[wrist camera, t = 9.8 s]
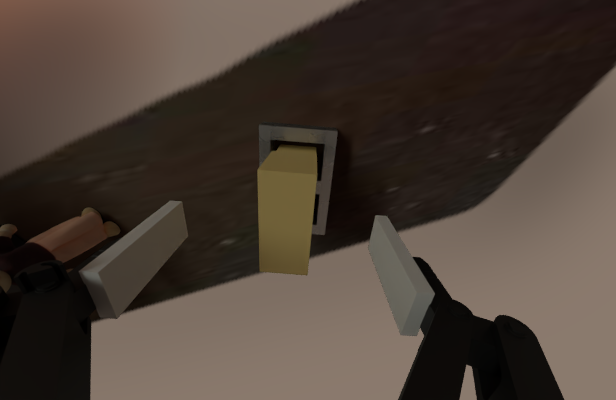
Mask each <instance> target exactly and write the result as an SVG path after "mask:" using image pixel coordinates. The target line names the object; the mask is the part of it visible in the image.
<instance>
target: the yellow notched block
mask: <svg viewBox="0 0 616 400" xmlns="http://www.w3.org/2000/svg"><path fill="white" fill-rule="evenodd" d="M316 182H317V154H316V147H308V146H296V145H283V144H281V145H280V146H279V147H278V149H277V150H276V151H272V152H271V153H270V154H269V155H268V157H267V158H266V159H265V161H264V162H263V163H262V165H261V166H260V167H259V169H258V213H259V259H260V272H272V273H284V274H296V275H307V274H308V263H309V254H310V244H311V233H312V223H313V213H314V202H315V192H316Z"/></svg>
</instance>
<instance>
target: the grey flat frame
mask: <svg viewBox="0 0 616 400" xmlns="http://www.w3.org/2000/svg"><path fill="white" fill-rule="evenodd" d="M337 134H338V131H337V129H336V128H331V127H319V126H307V125H295V124H283V123H271V122H263V123H261V124H260V125H259V154H260V166H261V165H262V163H263V162H264V161H265V159H266V158H267V157H268V155H269V154H270V153H271V152H272V151H274V140H282V141H294V142H306V143H319V144H324V148H323V157H322V167H321V174H317V182H316V192H315V194H319V196H318V205H317V215H313V223H312V233H311V234H318V235H325V228H326V221H327V213H328V205H329V197H330V189H331V181H332V174H333V166H334V158H335V150H336V142H337Z"/></svg>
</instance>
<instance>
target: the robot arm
mask: <svg viewBox="0 0 616 400" xmlns="http://www.w3.org/2000/svg"><path fill="white" fill-rule="evenodd" d="M187 237H188V232H187V227H186V221H185V216H184V210H183V205H182V202H181V201H169V202H168V203H167V204H165V205H164V206H163V207H162V208H160V209H159V210H158V211H156V212H155V213H154V214H152V215H151V216H150V217H149V218H147V219H146V220H145V221H143V222H142V223H141V224H139V225H138V226H137V227H136V228H134V229H133V230H132V231H130V232H129V233H128V234H126V235H125V236H124V237H123V238H118V239H116V240H114V241H112V242H110V243H108V244H106V245H105V246H104V247H102V248H101V249H99V251H97V252H95V253H94V254H93V255H92V256H91V257H89V258H87V259H86V260H85V261H83V262H82V263H81V264H79V265H78V266H77V267H75V268H74V269H73V270H71V271H70V272H68V273H67V271H66V269H65V267H64V265H63V263H62V261H59V260H48V261H43V262H39V263H36V264H33V265H31V266H29V267H27V268H25V269H23V270H21V271H20V272H19V273H17V274H16V275H15V276H14V278H13V279H14V281H15V282H16V284H17V285H18V286H16V285H12V284H11V286H10V288H9V290H8V291H7V292H6V293H5V291H4V290H3V288H2V287H1V286H0V400H90V377H91V374H90V373H91V319H90V317H89V315H90V314H91V313H92V312H93V311H94V310H95V309H96V310H97V312H98V314H99V316H100V318H115V319H117V318H118V317H119V316H120V315H121V314H122V313H123V311H124V310H125V309H126V308H127V307H128V306H129V304H130V303H131V302H132V301H133V300H134V299H135V297H136V296H137V295H138V294H139V293H140V291H141V290H142V289H143V288H144V287H145V286H146V284H147V283H148V282H149V281H150V280H151V279H152V277H153V276H154V275H155V274H156V273H157V272H158V270H159V269H160V268H161V267H162V266H163V265H164V263H165V262H166V261H167V260H168V259H169V258H170V256H171V255H172V254H173V253H174V252H175V251H176V249H177V248H178V247H179V246H180V245H181V244H182V242H183V241H184V240H185V239H186V238H187ZM11 241H12V243H13V245H14V246H15V248H18V247H20V246H23V245H24V244H25V243H24V242H23V241H22V240H21V239H19V238H18V237H17V236H15V235H14V234H12V237H11ZM368 249H369V252H370V254H371V257H372V260H373V262H374V265H375V268H376V271H377V273H378V276H379V279H380V281H381V284H382V287H383V289H384V292H385V295H386V297H387V300H388V303H389V305H390V308H391V311H392V313H393V316H394V319H395V321H396V324H397V327H398V329H399V332H400V334H401V335H407V336H417V334H418V332H419V329H420V328H421V330H422V332H423V334H424V338H423V340H422V342H421V345H420V347H419V349H418V352H417V355H416V357H415V360H414V362H413V365H412V367H411V369H410V372H409V374H408V377H407V379H406V382H405V384H404V387H403V389H402V391H401V394H400V396H399V399H398V400H459V398H460V393H461V388H462V383H463V378H464V373H465V368H466V364H467V365H469V366H472V369H473V376H474V382H475V390H476V396H477V400H564V398H563V396H562V393H561V391H560V389H559V387H558V384H557V382H556V380H555V378H554V375H553V373H552V371H551V369H550V366H549V364H548V362H547V360H546V357H545V355H544V353H543V351H542V348H541V346H540V344H539V342H538V339H537V337H536V336H535V334H534V333H533V332H532V330H530V329H529V328H528V327H527V326H526V325H525V324H523V323H522V322H520V321H519V320H517V319H515V318H512V317H510V316H506V315H499V316H497V317H496V318H495V320H494V322H493V321H490V320H487V319H483V318H480V317H477V316H474V315H473V314H472V312H471V311H470V310H469V309H468V308H467V307H466V306H465V305H463V304H462V303H460V302H458V301H456V300H452V298H451V296H450V295H449V294H448V292H447V291H446V289H445V288H444V287H443V285H442V284H441V282H440V281H439V279H438V278H437V276H436V275H435V273H434V272H433V270H432V269H431V267H430V266H429V265H428V263H426V262H425V261H424V260H423V259H421V258H420V257H412V256H411V254H410V253H409V251H408V249H407V248H406V246H405V245H404V243H403V241H402V240H401V238H400V237H399V235H398V233H397V232H396V230H395V229H394V227H393V225H392V224H391V222H390V221H389V219H388V217H387V216H379V215H376V216H375V220H374V224H373V229H372V233H371V237H370V242H369V246H368Z"/></svg>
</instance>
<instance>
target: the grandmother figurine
mask: <svg viewBox="0 0 616 400" xmlns="http://www.w3.org/2000/svg"><path fill="white" fill-rule="evenodd" d="M16 231H17V227H16V226H15V225H12V224H5V225H3V226H1V227H0V286H1V287H2V288H3V290H4V291H5V293H6V292H7V291H8V290H9V288H10V286H11V284H12V285H16V286H18V285H17V284H16V282H15V281H14V279H13V278H14V276H15V275H16V274H17V273H19V272H20V271H21V270H23V269H25V268H27V267H29V266H31V265H33V264H36V263H39V262H43V261H48V260H59V261H62V263H64V262H66V261H68V260H70V259H72V258H74V257H76V256H78V255H80V254H82V253H83V252H85V251H87V250H89V249H90V248H92V247H94V246H95V245H97V244H98V243H100V242H101V241H103V240H105V239H106V238H107V237H111V236H115V235H118V234H119V233H120V228H119V227H118V226H117V225H116V224H115V223H113V222H110V221H107V222H105V223H104V224H103V221H102V219H101V215H100V213H99V212H98V211H96V210H95V209H93V208H89V207H88V208H85V209H84V210H83V212H82V215H81V217H75V218H72V219H70V220H68V221H65V222H63V223H61V224H59V225H57V226H55V227H53V228H51V229H49V230H47V231H45V232H43V233H41V234H39V235H37V236H36V237H34V238H32V239H30V240H29V241H27V242H26V243H25V244H24V245H23V246H20V247H18V248H15V246H14V245H13V243H12V241H11V237H12V234H14V233H15V232H16ZM71 270H73V269H67V270H66V271H67V273H68V272H70V271H71Z"/></svg>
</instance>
